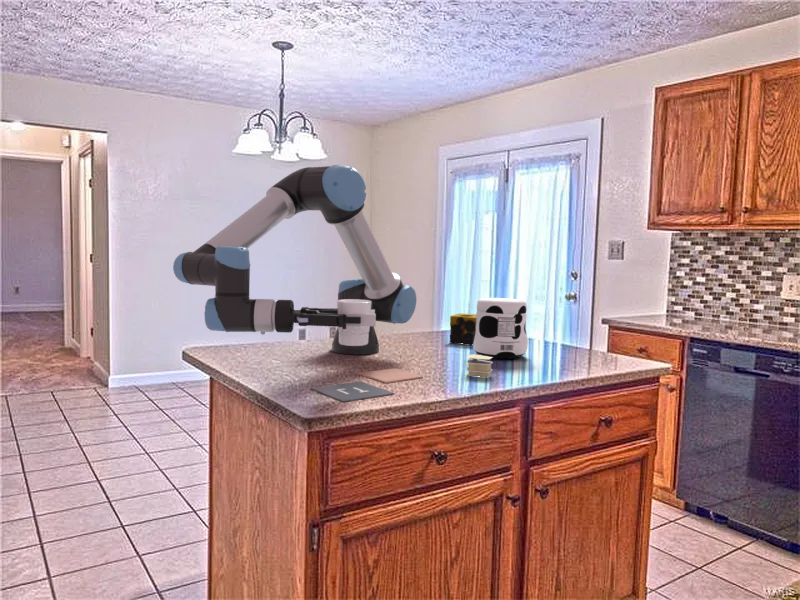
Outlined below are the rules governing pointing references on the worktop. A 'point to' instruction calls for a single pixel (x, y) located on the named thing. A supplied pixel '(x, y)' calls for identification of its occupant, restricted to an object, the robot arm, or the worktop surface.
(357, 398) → the tile
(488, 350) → the milk container
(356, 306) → the white cup
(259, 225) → the robot arm
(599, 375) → the worktop surface
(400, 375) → the coaster
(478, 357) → the stacked layers on plate
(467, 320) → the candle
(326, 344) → the worktop surface
